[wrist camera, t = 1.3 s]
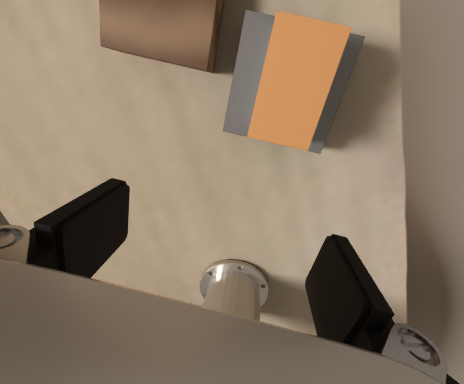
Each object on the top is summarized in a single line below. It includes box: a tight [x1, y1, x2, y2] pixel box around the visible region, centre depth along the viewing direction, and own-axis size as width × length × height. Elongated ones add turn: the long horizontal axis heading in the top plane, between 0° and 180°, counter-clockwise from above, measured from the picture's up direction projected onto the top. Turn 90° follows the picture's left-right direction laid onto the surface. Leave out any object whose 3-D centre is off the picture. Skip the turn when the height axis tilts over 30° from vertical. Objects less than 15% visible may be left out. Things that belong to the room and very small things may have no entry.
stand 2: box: [223, 10, 365, 154], centre depth 27 cm, size 12×12×4 cm
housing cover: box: [247, 11, 352, 151], centre depth 21 cm, size 10×6×2 cm, turn 168°
